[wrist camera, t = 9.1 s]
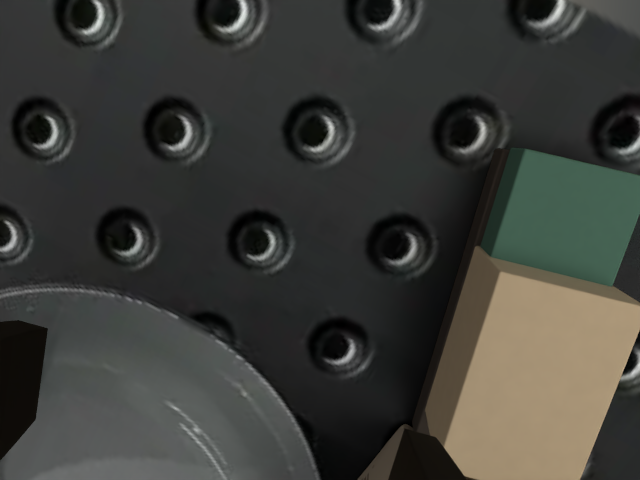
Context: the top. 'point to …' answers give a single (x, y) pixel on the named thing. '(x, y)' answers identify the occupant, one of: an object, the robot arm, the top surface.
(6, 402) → the robot arm
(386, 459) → the coffee box
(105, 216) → the top surface
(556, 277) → the tan and green block
